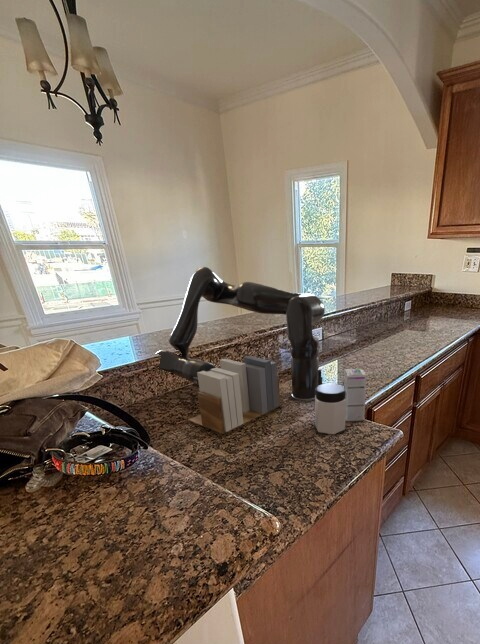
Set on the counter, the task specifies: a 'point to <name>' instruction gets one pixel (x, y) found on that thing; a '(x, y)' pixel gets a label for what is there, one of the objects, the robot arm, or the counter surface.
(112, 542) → the counter surface
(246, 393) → the thin white book
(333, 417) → the jar
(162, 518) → the counter surface
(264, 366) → the grey books
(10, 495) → the counter surface
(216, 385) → the white books
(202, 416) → the book rack
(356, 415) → the syrup box
